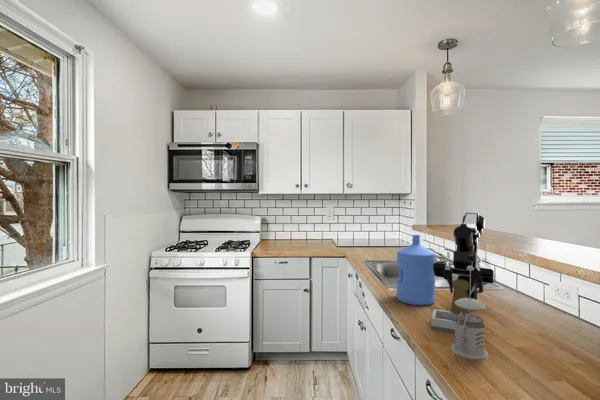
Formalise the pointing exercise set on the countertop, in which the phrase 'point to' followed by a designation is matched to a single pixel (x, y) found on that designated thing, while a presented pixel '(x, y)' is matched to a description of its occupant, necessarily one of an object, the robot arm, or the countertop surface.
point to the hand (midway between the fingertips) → (460, 293)
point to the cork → (459, 295)
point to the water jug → (416, 274)
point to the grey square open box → (443, 320)
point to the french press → (469, 329)
